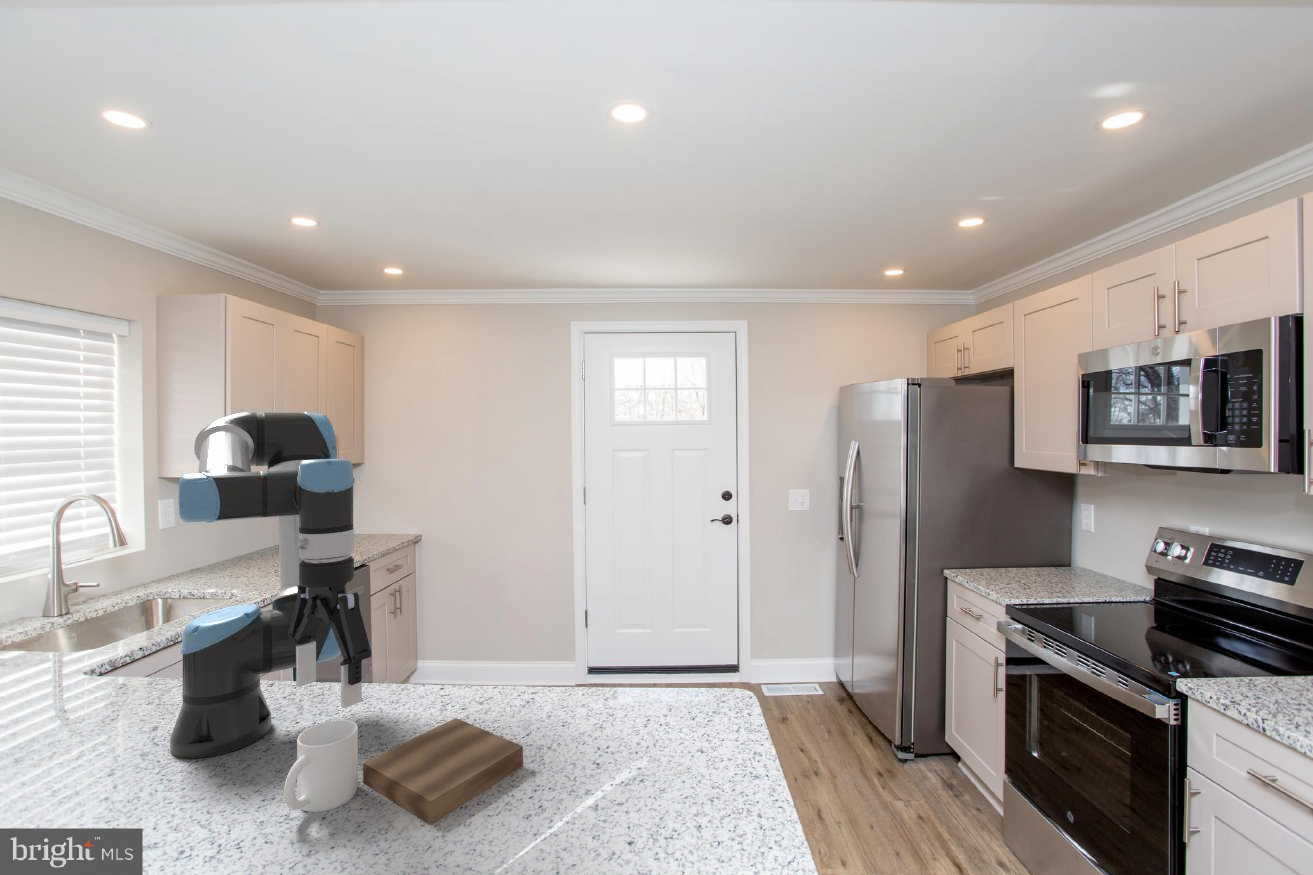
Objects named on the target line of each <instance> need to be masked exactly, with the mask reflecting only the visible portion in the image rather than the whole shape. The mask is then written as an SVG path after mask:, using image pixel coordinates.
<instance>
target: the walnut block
mask: <svg viewBox="0 0 1313 875" xmlns="http://www.w3.org/2000/svg"><path fill="white" fill-rule="evenodd" d="M523 767H524V746H523V745H521V744H519V743H517V742H515V741H511V740H510V739H508V738H505V737H502V736H500V735H498V734H494V733H493V732H491V731H488V730H486V729H484V728H481V727H478V726H477V725H474V724H471V723H469V722H467V721H464V720H462V719H460V718H457V717H455V718H453V719H451V720H449V721H447V722H445V723H442V724H440V725H438V726H436V727H434V728H432V729H430V730H428V731H426V732H424V733H422V734H419V735H417V736H415V737H413V738H412V739H410V740H409V739H408V740H407V741H405V742H403V743H401V744H398V745H397V746H395V747H393V748H390V749H388V750H387V751H386V750H385V751H384V752H382V753H381V754H378V755H376V756H374V757H371V758H369V759H368V760H365V761H363V762H362V783H363V784H364V785H365V786H367V787H369V788H370V789H372V790H374V791H375V792H377V793H378V794H380V795H381V796H383V797H385V798H386V799H388V800H390V801H391V802H393V803H395V804H396V805H398V806H399V807H401V808H403V809H404V810H405V811H407V812H409V813H410V814H412V815H413V816H415V817H417V818H419V820H422V821H424V823H427V824H428V825H430V826H432V825H434V824H435V823H437V822H438V821H440V820H442V819H443V818H444V817H446V816H447V815H449V814H451V813H452V812H454V811H456V810H457V809H459V808H460V807H462V806H464V805H465V804H466V803H468V802H470V801H471V800H473V799H475V798H476V797H477V796H479V795H481V794H483V793H484V792H485V791H487V790H488V789H490V788H492V787H494V786H495V785H496V784H498V783H499V782H501V781H503V780H504V779H506V778H507V777H509V776H510V775H512V774H513V773H515V772H516V771H519V770H520V769H522V768H523ZM431 824H432V825H431Z"/></svg>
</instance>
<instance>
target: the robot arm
mask: <svg viewBox="0 0 1313 875" xmlns="http://www.w3.org/2000/svg"><path fill="white" fill-rule="evenodd" d="M336 445H337V439H336V434H335V429H334V427H333V423H332V421H331V420H330V418H329V417H328V416H327V415H325V414H322V413H316V412H315V413H314V412H311V413H310V412H307V411H303V412H266V411H265V412H261V411H260V412H259V411H257V412H256V411H244V412H238V413H234V414H230V415H227V416H224V417H220V418H219V419H216V420H214V421H212V422H210V423H209V424H207V425H206V426H205V427H203V429H201V430H200V431H199V433H198V434H197V436H196V437H195V440H194V450H193V452H194V454H195V455H194V456H195V457H196V458H197V460H198V461H199V462H198V471H197V472H198V473H188V474H184V475H182V476H181V477H180V478H179V482H178V514H179V518H180V519H181V520H182V521H183V522H184V523H185V522H186V523H208V524H210V523H214V522H225V521H234V520H235V521H236V520H249V519H251V520H252V519H262V518H275V517H277V524H278V548H279V551H278V552H279V573H280V575H279V577H280V580H279V581H280V591H279V592H278V594H276V596H275V597H274V598H273V599H272V600H271V603H272V604H271V606H272V609H268V610H263V611H261V608H260V607H259V605H258V604H255V603H247V604H236V605H231V606H227V607H224V608H220V609H217V610H213V611H210V612H207V613H205V614H202V615H200V616H198V617H196V618H194V619H192V620H191V621H189V623H187V625H185V627H184V629H183V632H182V641H181V644H182V645H181V648H180V654H182V681H181V682H182V684H181V685H182V704H181V707H180V711H179V714H178V716H177V719H176V721H175V724H174V727H173V728H172V729H173V730H172V732H171V735H170V738H169V741H170V742H169V746H170V747H169V749H170V750H169V751H170V754H171V755H172V756H174V757H175V758H180V759H188V760H192V759H193V760H195V759H204V758H210V757H216V756H220V755H224V754H228V753H230V752H234V751H236V750H240V749H242V748H245V747H246V746H249V745H251V744H254V743H255V742H257V741H258V740H260V739H261V738H263V737H264V736H266V735H267V734H268V733H269V731H270V730H271V728H272V712H271V710H270V707H269V705H268V702H267V700H266V697H265V696H264V693H263V691H262V688H261V675H265V674H269V673H275V672H279V671H283V670H289V669H294V668H296V670H295V674H296V676H295V677H296V678H295V680H296V683H295V684H296V685H295V686H296V687H298V688H300V687H303V686H306V685H309V684H312V683H315V682H317V665H318V663H322V662H323V663H324V662H325V661H330V660H334V659H337V658H338V657H339V656H340V655H341V656H342V661H341V662H340V663H339V665H340V704H341V705H340V706H341V707H340V708H342V709H347V708H348V707H351V706H354V705H357V704H359V703H361V702H362V701H363V700H362V699H363V697H362V696H363V694H362V692H363V691H362V690H363V688H362V681H363V680H362V679H363V678H362V676H363V675H362V674H363V673H362V666H363V665H362V662H363V660H365V659H369V658H371V657H372V650H371V646H370V643H369V639H368V636H367V634H368V633H367V631H366V627H365V623H364V620H363V616H362V612H361V609H360V596H359V593H358V592H352V593H348V594H347V589H346V585H347V584H348V583H351V581H353V580H354V577H355V558H354V557H353V556H352V555H353V554H354V553H355V527H354V484H355V478H354V469H353V468H354V466H353V463H352V461H351V460H349V459H346V458H337V456H338V453H337V452H338V451H337V446H336ZM252 467H267V471H265V470H264V471H261V470H259V471H252Z"/></svg>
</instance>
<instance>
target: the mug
mask: <svg viewBox="0 0 1313 875" xmlns="http://www.w3.org/2000/svg"><path fill="white" fill-rule="evenodd" d="M358 730H359V728H358V723H356V722H355V721H352V720H348V719H334V720H328V721H325V722H321V723H318V724H315V725H313V726H311V727H309V728H308V727H307V729H305V730H304V731H302V732H300V734H299V735H298V736H297V741H296V747H297V748H296V756H297V757H296V761H295V762H294V763H293V765H292V766H291V767H290V769H289V771H288V773H287V776H286V778H285V781H284V782H285V783H284V785H283V786H284V787H283V800H284V802H285V804H286V806H287V808H289V809H291V810H299V809H301V810H302V811H304V812H309V813H319V812H327V811H331V810H333V809H336V808H339V807H340V806H343V805H344V804H346V803H348V802H349V801H350V800H352V798H353V797H354V796H355V795H356V793H357V791H358V788H359V787H358V786H359V757H358V756H359V752H358V751H359V747H358V746H359V736H358V735H359V732H358ZM296 783H297V788H295V787H296ZM296 789H297V796H296V792H295V790H296Z"/></svg>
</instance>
